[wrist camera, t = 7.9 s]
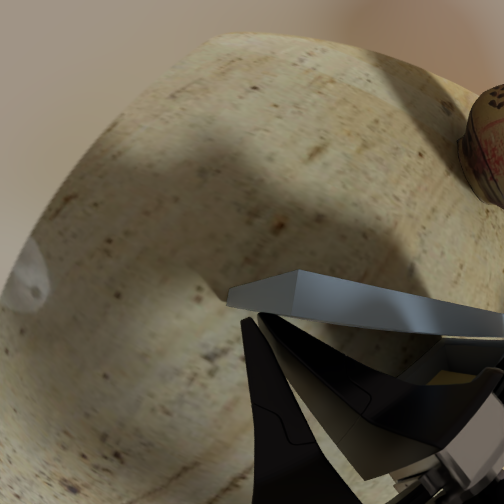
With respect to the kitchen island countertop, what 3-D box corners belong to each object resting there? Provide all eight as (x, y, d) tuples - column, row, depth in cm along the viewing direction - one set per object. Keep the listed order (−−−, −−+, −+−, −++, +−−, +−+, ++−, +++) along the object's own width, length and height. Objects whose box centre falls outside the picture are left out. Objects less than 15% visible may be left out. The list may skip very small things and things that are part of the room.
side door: (445, 335, 19) (541, 336, 9) (226, 305, 15) (290, 315, 6) (447, 324, 19) (543, 321, 9) (229, 288, 16) (298, 269, 6)
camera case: (450, 396, 19) (518, 410, 10) (393, 449, 16) (464, 484, 8) (442, 337, 19) (522, 340, 11) (380, 390, 17) (469, 419, 9)
